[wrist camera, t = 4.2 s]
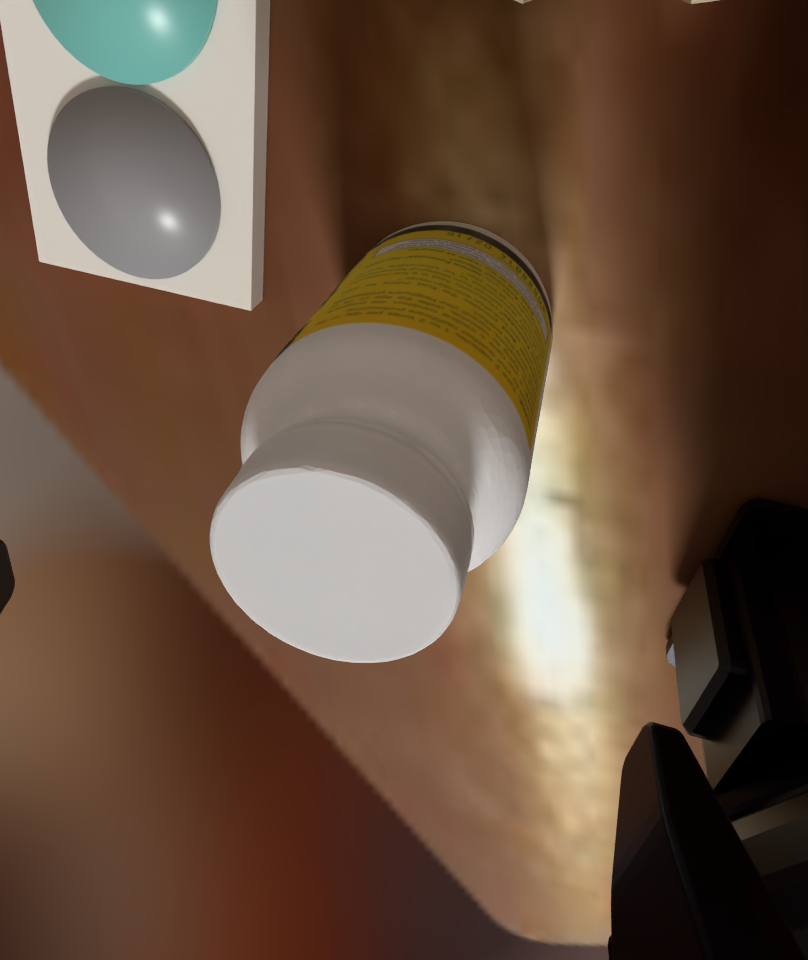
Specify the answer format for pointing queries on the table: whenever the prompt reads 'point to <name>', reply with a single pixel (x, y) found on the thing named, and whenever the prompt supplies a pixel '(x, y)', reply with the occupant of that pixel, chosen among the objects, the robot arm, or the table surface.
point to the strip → (146, 138)
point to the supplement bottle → (389, 446)
